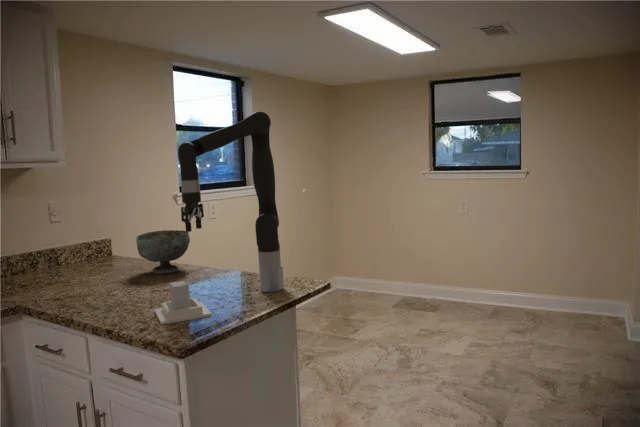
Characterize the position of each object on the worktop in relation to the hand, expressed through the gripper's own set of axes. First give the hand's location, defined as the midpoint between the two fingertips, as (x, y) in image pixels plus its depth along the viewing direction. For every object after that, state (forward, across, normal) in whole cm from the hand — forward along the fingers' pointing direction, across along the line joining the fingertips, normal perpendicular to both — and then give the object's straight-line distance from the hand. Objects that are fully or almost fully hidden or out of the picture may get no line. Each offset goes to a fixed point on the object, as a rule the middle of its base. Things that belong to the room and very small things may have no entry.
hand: (194, 230), depth 220 cm
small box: (+27, -24, -6) cm, 37 cm away
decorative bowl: (+28, +42, +42) cm, 66 cm away
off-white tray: (+28, -24, -6) cm, 37 cm away
